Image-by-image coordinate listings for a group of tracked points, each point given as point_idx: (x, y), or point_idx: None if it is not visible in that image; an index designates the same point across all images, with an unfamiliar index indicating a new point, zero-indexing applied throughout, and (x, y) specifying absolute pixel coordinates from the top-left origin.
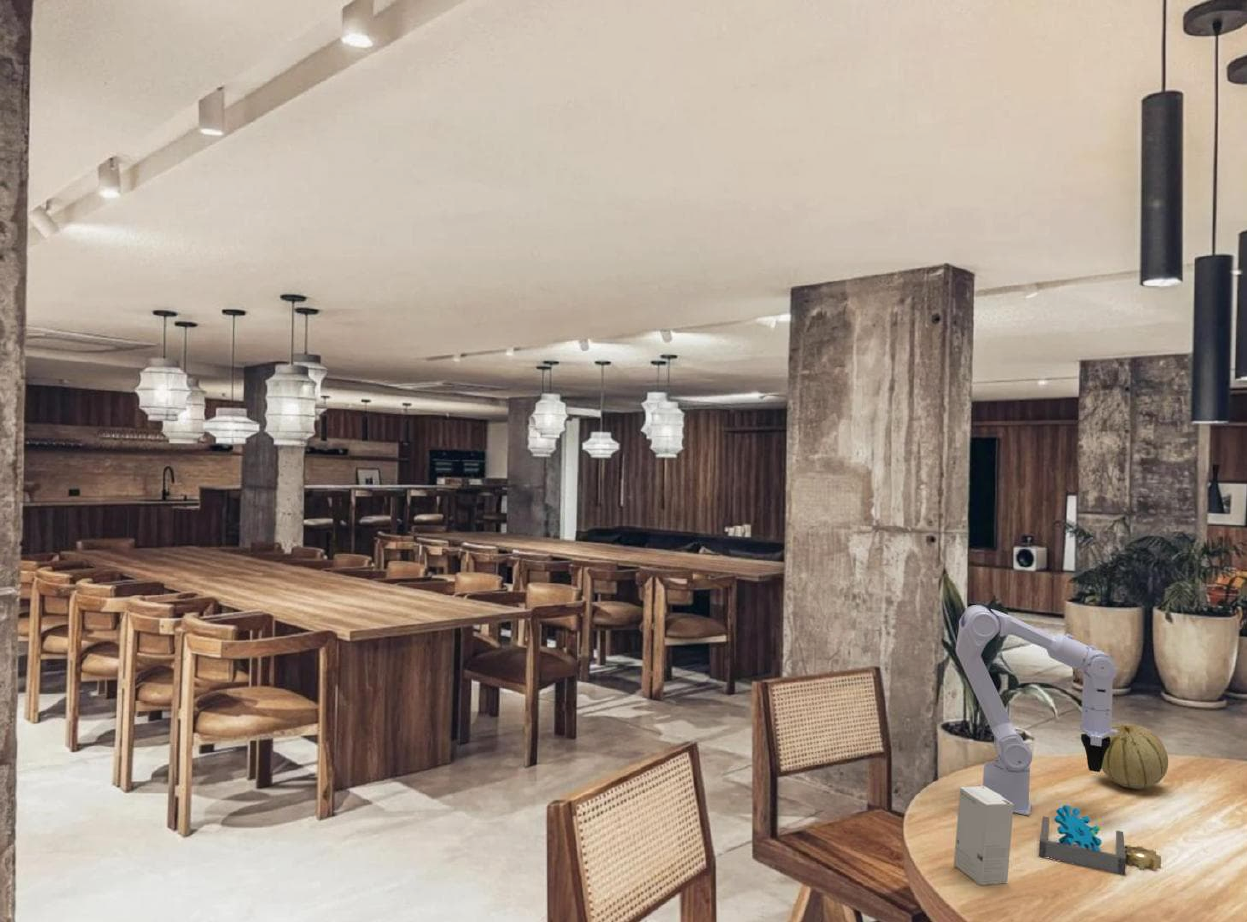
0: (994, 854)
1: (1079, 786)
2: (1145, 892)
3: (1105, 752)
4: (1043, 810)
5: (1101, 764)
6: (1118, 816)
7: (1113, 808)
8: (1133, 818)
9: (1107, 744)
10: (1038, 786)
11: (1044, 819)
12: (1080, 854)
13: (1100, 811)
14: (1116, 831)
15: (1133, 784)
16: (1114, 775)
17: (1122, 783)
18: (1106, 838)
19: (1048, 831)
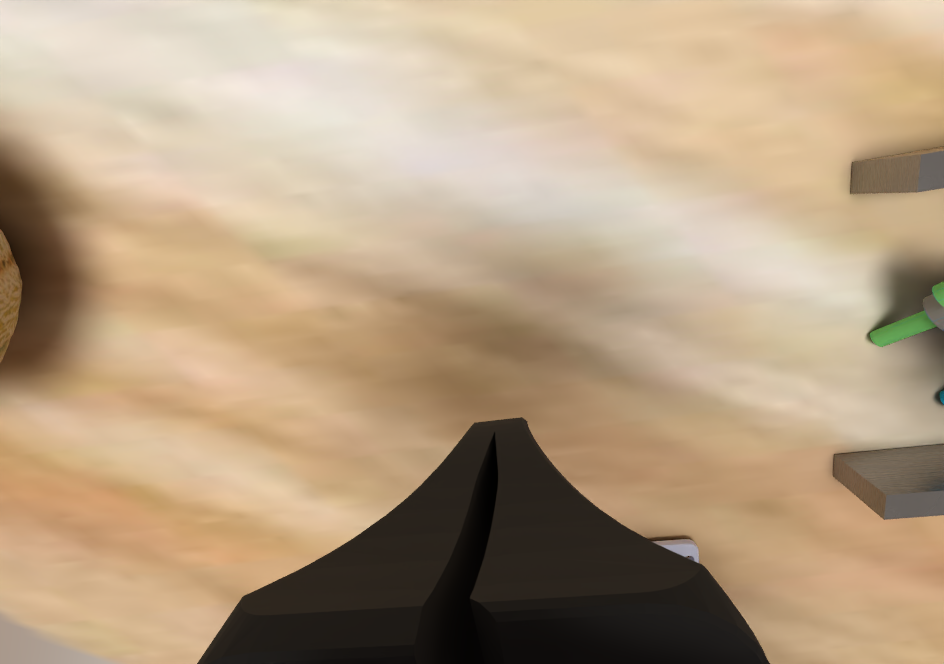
0: None
1: (162, 433)
2: None
3: (604, 514)
4: None
5: (537, 445)
6: (417, 243)
7: (324, 278)
8: (391, 180)
9: (754, 638)
10: (302, 552)
11: (935, 508)
12: None
13: (411, 319)
14: (936, 188)
15: (2, 235)
16: (5, 331)
17: (21, 286)
18: (768, 245)
19: (920, 461)
